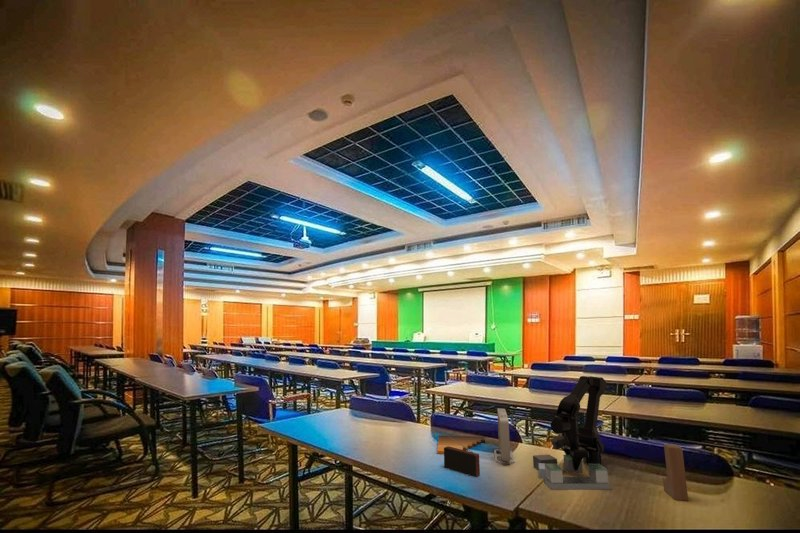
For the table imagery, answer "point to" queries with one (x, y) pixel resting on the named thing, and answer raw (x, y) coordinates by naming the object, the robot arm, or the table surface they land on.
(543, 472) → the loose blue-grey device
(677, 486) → the wooden block
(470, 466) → the radio
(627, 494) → the table surface
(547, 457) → the loose grey block
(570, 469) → the block
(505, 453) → the network device
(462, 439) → the pan flute
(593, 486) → the rail
